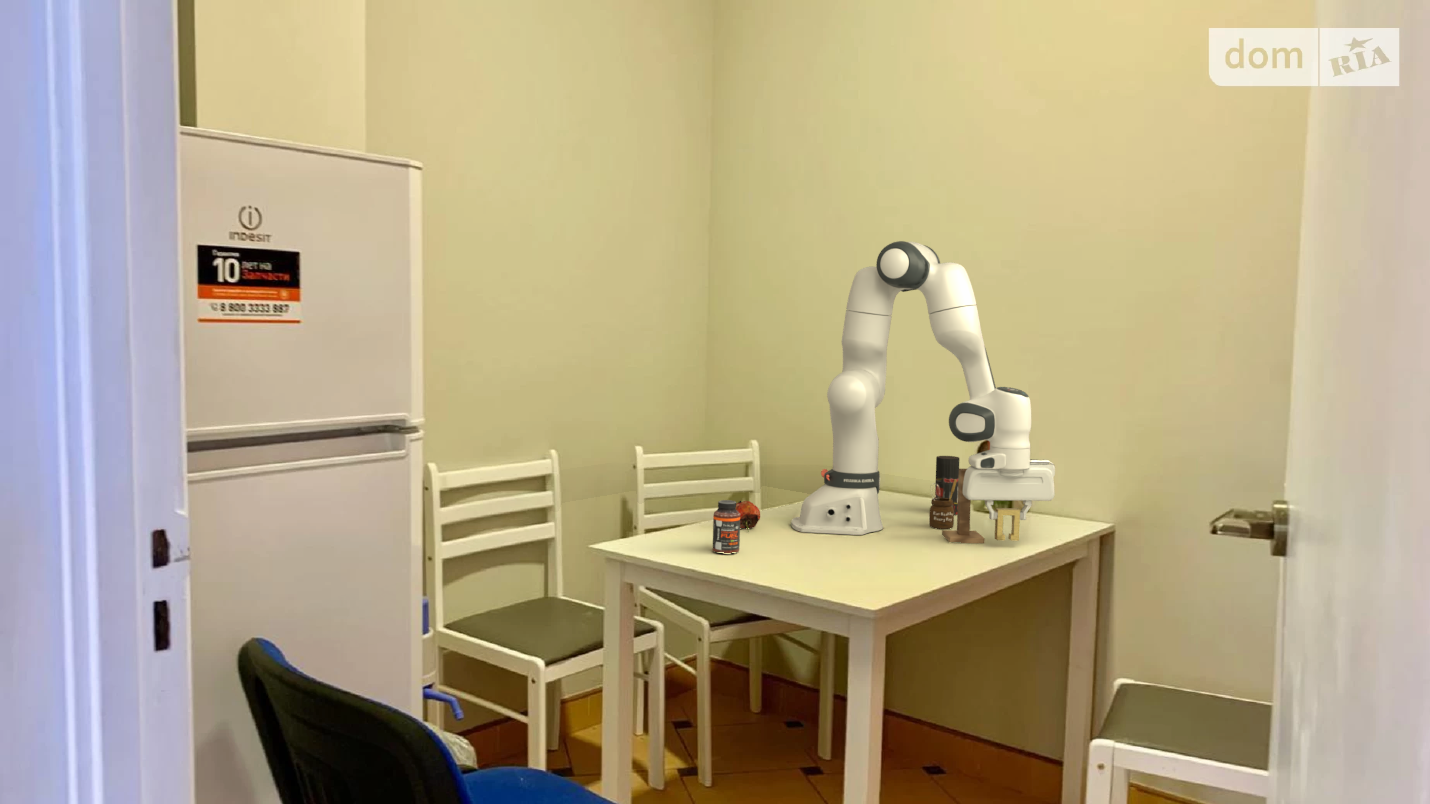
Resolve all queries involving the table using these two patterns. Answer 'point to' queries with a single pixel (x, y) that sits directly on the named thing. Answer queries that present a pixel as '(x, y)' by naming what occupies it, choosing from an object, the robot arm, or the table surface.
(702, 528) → the table surface
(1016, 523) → the tan wooden arch piece
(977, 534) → the stand
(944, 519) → the utensil holder
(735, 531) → the supplement bottle
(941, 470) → the deodorant
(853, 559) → the table surface
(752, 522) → the pomegranate
